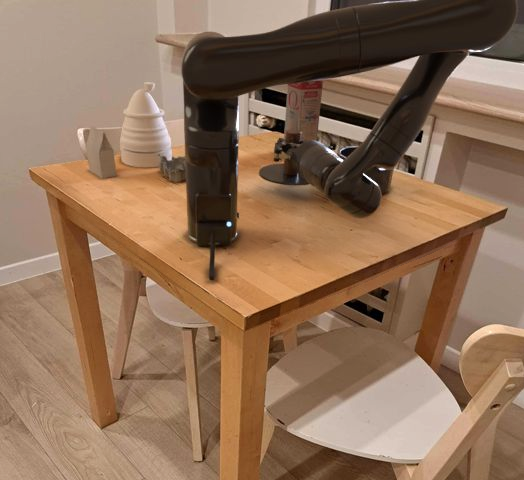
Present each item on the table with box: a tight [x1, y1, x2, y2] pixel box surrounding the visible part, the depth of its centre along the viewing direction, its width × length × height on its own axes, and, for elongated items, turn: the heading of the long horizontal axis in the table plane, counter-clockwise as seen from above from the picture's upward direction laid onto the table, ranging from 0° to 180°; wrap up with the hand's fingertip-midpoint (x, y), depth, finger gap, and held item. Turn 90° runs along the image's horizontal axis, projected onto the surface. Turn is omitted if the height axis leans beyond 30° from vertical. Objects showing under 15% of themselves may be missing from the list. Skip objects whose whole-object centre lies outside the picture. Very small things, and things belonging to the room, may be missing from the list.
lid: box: [258, 130, 311, 186], centre depth 118 cm, size 15×15×10 cm
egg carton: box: [158, 154, 186, 183], centre depth 126 cm, size 11×8×4 cm
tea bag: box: [85, 125, 117, 179], centre depth 123 cm, size 4×7×10 cm, turn 40°
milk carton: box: [283, 80, 324, 141], centre depth 142 cm, size 7×7×22 cm
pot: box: [336, 145, 395, 195], centre depth 126 cm, size 14×19×8 cm
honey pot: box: [119, 81, 173, 168], centre depth 131 cm, size 13×13×18 cm
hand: (288, 142), depth 119 cm, fingers closed on lid, 3 cm apart
